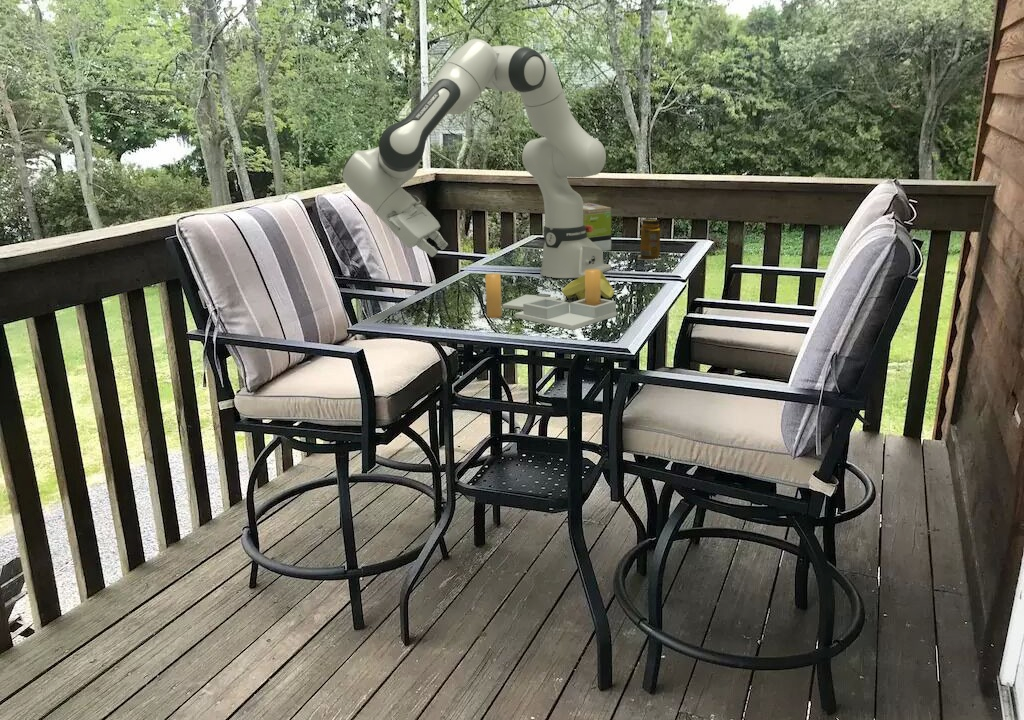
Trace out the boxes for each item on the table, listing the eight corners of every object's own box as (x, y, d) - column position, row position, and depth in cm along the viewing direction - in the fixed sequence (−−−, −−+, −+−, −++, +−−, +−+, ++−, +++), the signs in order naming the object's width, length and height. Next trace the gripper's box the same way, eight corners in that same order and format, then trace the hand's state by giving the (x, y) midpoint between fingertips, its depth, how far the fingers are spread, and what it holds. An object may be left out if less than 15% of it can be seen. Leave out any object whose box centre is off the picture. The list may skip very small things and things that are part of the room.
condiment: (661, 255, 264) (661, 218, 260) (660, 260, 256) (661, 222, 252) (638, 255, 265) (638, 218, 261) (637, 260, 257) (637, 222, 253)
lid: (528, 296, 215) (528, 292, 214) (562, 299, 210) (562, 295, 209) (502, 307, 204) (502, 303, 203) (537, 311, 199) (537, 307, 198)
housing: (559, 304, 205) (559, 261, 201) (616, 315, 192) (617, 269, 189) (515, 317, 194) (513, 271, 191) (572, 330, 182) (571, 281, 178)
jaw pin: (494, 313, 198) (493, 272, 195) (505, 315, 196) (503, 274, 193) (483, 316, 196) (482, 275, 193) (494, 318, 194) (492, 277, 191)
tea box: (564, 247, 285) (564, 204, 280) (589, 244, 288) (589, 202, 284) (586, 253, 271) (586, 208, 267) (612, 250, 275) (612, 206, 271)
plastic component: (569, 282, 219) (603, 266, 216) (581, 307, 220) (614, 291, 217) (558, 293, 200) (595, 276, 197) (571, 320, 201) (608, 303, 198)
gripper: (392, 205, 181) (437, 249, 183) (418, 195, 200) (459, 234, 202) (375, 225, 183) (419, 268, 185) (402, 213, 203) (442, 252, 204)
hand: (440, 251), depth 193 cm, fingers open, 8 cm apart
